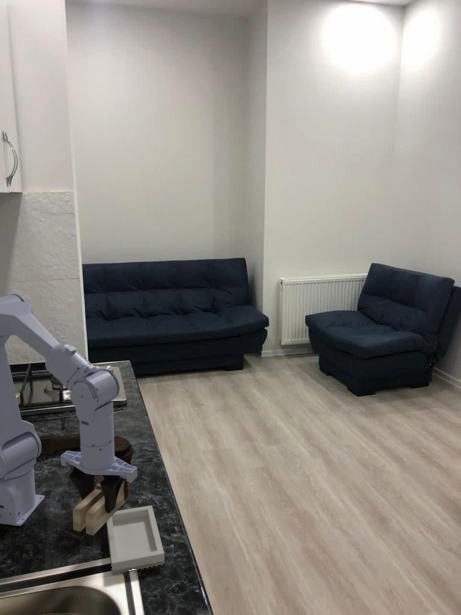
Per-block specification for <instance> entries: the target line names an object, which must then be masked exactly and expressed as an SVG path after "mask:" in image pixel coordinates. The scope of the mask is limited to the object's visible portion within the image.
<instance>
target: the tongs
mask: <svg viewBox="0 0 461 615" xmlns="http://www.w3.org/2000/svg"><path fill="white" fill-rule="evenodd" d="M124 504H125V503H124V484H122V486H121V488H120V491H119V494H118V497H117V501H116V506H115V508H114V509H113V510H112V511H111V512H110V513H106V510H105V498H104V493H103V490H102V488H101V486H100V483H98V484H95V488H94V491H92V492H91V493H90V494H89V495H88V496H87V497H86V498H85V499H84V500H82V499H81V501H80V502H79V503H78V504H77V505H75V507H73V508H72V528H73V531H77V532H82V531H83V529H84V528H85V534H86V535H87V534H88V535H90V536H94V535H95V534H96V533H97V532H98V531H99V530H100V529H101V528H102V527H103V526H104V525H105V524H106V522H107V520H108V519H109V518H110V517H111V516H112V515H113V514H114V513H115V512H116V511H119V509H121V507H122V506H123V505H124Z"/></svg>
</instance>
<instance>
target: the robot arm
mask: <svg viewBox="0 0 461 615" xmlns="http://www.w3.org/2000/svg"><path fill="white" fill-rule="evenodd" d="M33 312H34V311H33V306H32V304H31V303H30V302H28V301H27V300H26V298H25V297H24V296H23V295H21V294H20V293H12V294H9V295H7V296H1V297H0V524H1V525H11V526H17V527H20V526H22V525H24V524H25V522H26V521H27V520H28V519H29V517H30V516H31V515H32V513H34V511H35V510H36V509H37V508H38V506H39V505H40V504H41V503H42V502H43V501H44V499H45V495H43V494H36V484H35V472H34V471H35V470H34V466H35V464H37V458H38V457H39V456H41V455H40V453H41V441H40V439H39V435H38V434H37V431H36V429H35V425H34V424H33V423H31V422H29V421H27V420H23V419H22V416H21V412H20V407H19V402H18V398H17V395H16V394H17V393H16V390H15V384H14V381H13V376H12V372H11V366H10V362H9V358H8V353H7V350H6V343H7V341H8V340H9V339H10V338H11V336H16V337H17V338H19V339H20V340H21V341H23V342H24V343H25V344H26V345H28V346H29V347H30V348H32V349H33V350H34V351H35V352H37V353H38V354H39V355H41V357H43V358H44V359H45V362H44V364H45V369H46V370H47V371H48V372H49V373H50V374H51V375H52V376H53V377H55V378H56V379H57V380H58V381H59V382H60V383H61V384H62V385H63V386H64V387H66V389H67V390H69V391H70V392H69V397H70V400H71V403H72V404H73V406H74V408H75V409H74V410H75V416H76V417H77V420H78V422H79V433H80V446H81V447H80V451H72V450H66V451H65V452H64V453H62V454H61V455H60V465H61V466H64V467H67V466H68V465H69V466H72V468H73V469H72V471H71V472H69V474H68V476H69V478H68V479H69V480H70V481H71V482H72V483H73V485H74V486H75V487H76V489H77V491H78V493H79V496H80V498H81V501H82V500H84V499H85V498H86V497H87V496H88V495H89V494H90V493H91V492H92V491H94V490H95V480H96V477H95V475H107V477H106V478H105V479H104V480H103V481H102V482H100V486H101V488H102V490H103V493H104V498H105V510H106V513H110V512H111V511H112V510H113V509H114V508H115V506H116V501H117V497H118V494H119V491H120V488H121V486H122V483H123V481H124V479H126V481H127V482H130V483H133V482H134V481H135V480H136V478H137V477H138V466H134V465H132V464H131V465H129V464H127V463H126V462H124V461H122V460H120V459H119V458H117V457H115V456H114V455H115V452H114V436H115V427H114V425H115V424H114V400H115V399H116V398H117V397H118V396H119V395H120V390H121V388H120V387H121V386H120V382H119V380H118V378H117V375H115V373H113V371H112V370H111V369H109V368H106V367H100V366H99V365H94V364H92V363H91V362H90V361H89V360H88V359H87V358H86V357H85V356H83V354H81V353H80V352H79V351H78V350H77V348H76V347H75V346H73V345H71V344H69V343H65V344H61V343H59V342H58V341H57V339H56V338H55V337H54V336H53V335H52V334H51V332H49V331H48V330H47V329H46V328H45V327H44V326H43V325H42V323H41V322H40V321H39V320H38V319H37V317H35V315H34V313H33Z"/></svg>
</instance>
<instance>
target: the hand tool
mask: <svg viewBox="0 0 461 615" xmlns="http://www.w3.org/2000/svg"><path fill="white" fill-rule="evenodd" d="M38 437H39V439H40V441H41V453H40V455H39V456H43V455H51V454H55V453H56V452H58V451H63V450H71V449H76V448H81V446H80V432H79V433H73V434H67V435H66V434H65V435H57V436H56V435H55V433H53V434H46V435H40V436H39V435H38Z"/></svg>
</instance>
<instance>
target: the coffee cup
mask: <svg viewBox="0 0 461 615" xmlns="http://www.w3.org/2000/svg"><path fill="white" fill-rule="evenodd" d="M114 452H115V455H114V456H115V457H117V458H119V459H120V460H122V461H124V462H126V463H127V464H129V465H132V458H133V455H134V448H133V446H132V444H130V441H129V440H128V439H127V438H125V437H122V436H119V435H114ZM106 477H107V475H95V482H96V484H95V485H97V484H98V483H100V482H102V481H103V480H104V479H105V478H106ZM122 484H124V504H125V503H126V502H127V501H128V500H129V497H130V489H131V488H130V486H131V482H127V481H126V479H124V481H123V483H122Z"/></svg>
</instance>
